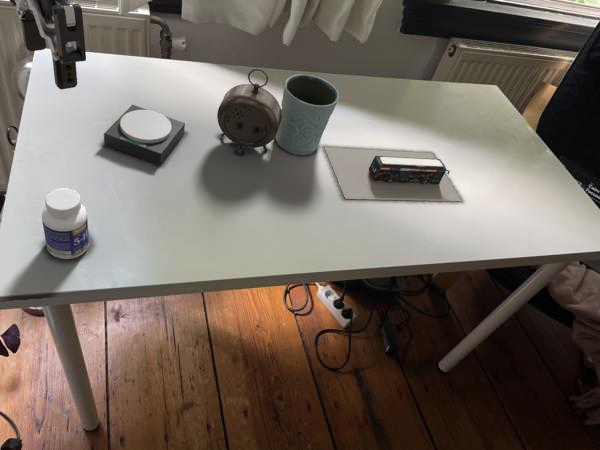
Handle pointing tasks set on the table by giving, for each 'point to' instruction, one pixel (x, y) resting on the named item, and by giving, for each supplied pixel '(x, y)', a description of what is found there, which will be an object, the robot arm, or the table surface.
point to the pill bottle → (65, 224)
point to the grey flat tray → (390, 175)
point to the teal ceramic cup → (305, 112)
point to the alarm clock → (249, 115)
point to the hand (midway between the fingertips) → (50, 67)
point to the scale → (144, 134)
